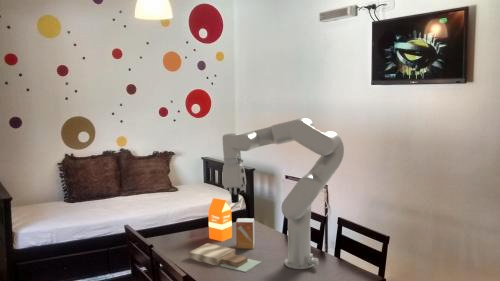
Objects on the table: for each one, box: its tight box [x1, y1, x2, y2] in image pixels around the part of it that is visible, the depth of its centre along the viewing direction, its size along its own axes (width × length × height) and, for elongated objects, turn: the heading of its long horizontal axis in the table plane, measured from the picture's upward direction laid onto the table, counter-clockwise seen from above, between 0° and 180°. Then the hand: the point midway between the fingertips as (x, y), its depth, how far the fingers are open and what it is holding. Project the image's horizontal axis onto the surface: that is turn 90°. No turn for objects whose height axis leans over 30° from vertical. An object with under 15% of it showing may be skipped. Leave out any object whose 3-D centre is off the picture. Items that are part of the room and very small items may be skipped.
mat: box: [219, 258, 262, 273], centre depth 203 cm, size 14×12×1 cm
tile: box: [221, 254, 249, 267], centre depth 204 cm, size 9×7×2 cm
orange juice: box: [207, 197, 233, 242], centre depth 236 cm, size 8×9×20 cm
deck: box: [188, 242, 237, 267], centre depth 211 cm, size 16×13×3 cm
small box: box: [235, 217, 255, 250], centre depth 223 cm, size 8×6×13 cm
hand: (235, 202), depth 209 cm, fingers closed
